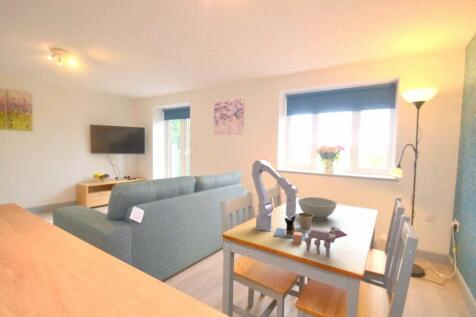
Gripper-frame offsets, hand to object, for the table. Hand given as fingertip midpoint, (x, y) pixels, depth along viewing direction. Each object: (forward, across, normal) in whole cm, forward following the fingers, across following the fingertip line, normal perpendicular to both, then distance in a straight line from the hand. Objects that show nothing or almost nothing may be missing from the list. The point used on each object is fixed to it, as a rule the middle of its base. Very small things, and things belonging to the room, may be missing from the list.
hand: (290, 228), depth 141 cm
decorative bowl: (+4, +38, -15) cm, 41 cm away
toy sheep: (+4, -17, -20) cm, 26 cm away
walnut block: (+3, 0, 0) cm, 3 cm away
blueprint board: (+4, 0, 0) cm, 4 cm away
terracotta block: (+4, -10, -5) cm, 12 cm away
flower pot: (+4, +14, -8) cm, 17 cm away
